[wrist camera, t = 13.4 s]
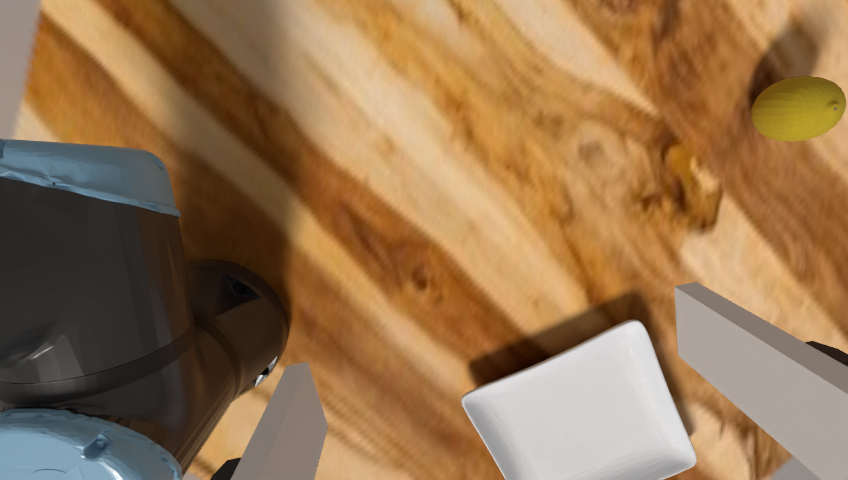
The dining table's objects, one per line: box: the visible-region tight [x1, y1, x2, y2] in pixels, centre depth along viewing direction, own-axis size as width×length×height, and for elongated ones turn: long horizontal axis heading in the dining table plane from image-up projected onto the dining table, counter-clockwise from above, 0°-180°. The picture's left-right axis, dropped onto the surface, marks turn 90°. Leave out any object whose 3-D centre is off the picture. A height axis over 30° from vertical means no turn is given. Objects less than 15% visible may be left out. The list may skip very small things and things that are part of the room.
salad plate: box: [461, 320, 697, 480], centre depth 50 cm, size 21×21×3 cm
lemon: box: [751, 76, 846, 141], centre depth 39 cm, size 6×6×8 cm
